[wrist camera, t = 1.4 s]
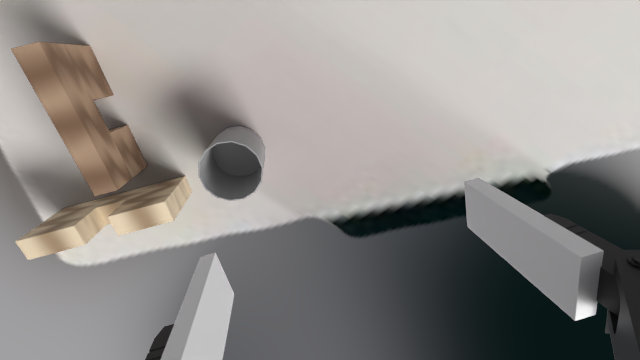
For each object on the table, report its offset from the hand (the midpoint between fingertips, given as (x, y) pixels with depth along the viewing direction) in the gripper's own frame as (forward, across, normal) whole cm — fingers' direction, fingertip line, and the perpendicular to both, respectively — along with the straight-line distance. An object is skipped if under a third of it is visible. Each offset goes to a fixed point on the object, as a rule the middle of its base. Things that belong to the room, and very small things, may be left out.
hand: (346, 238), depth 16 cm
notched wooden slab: (+37, -30, -6) cm, 48 cm away
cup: (+37, -11, -3) cm, 39 cm away
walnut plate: (+37, -27, +8) cm, 46 cm away
